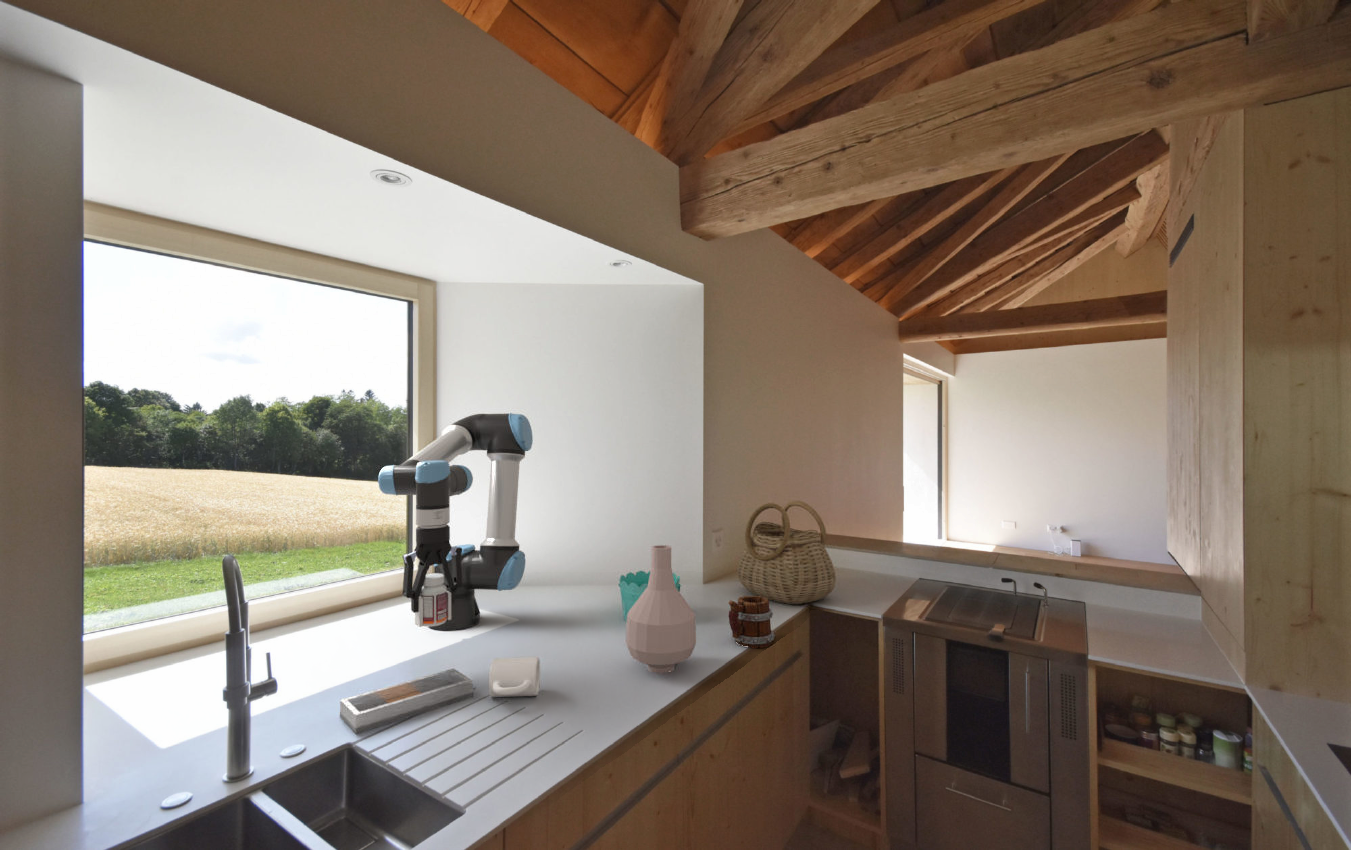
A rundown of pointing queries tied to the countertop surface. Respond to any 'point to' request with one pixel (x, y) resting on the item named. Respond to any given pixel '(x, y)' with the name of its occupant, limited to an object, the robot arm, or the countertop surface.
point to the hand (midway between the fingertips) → (433, 621)
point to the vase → (661, 619)
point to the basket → (786, 559)
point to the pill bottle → (434, 600)
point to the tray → (404, 700)
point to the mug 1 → (514, 677)
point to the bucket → (636, 588)
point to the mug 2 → (751, 621)
